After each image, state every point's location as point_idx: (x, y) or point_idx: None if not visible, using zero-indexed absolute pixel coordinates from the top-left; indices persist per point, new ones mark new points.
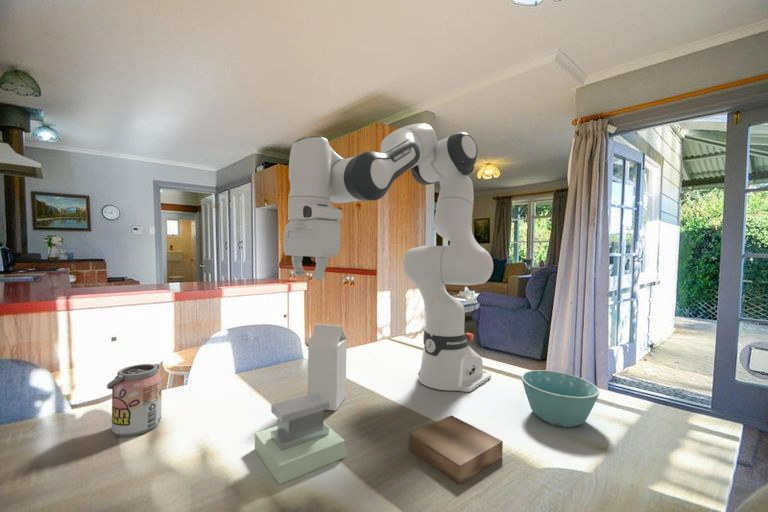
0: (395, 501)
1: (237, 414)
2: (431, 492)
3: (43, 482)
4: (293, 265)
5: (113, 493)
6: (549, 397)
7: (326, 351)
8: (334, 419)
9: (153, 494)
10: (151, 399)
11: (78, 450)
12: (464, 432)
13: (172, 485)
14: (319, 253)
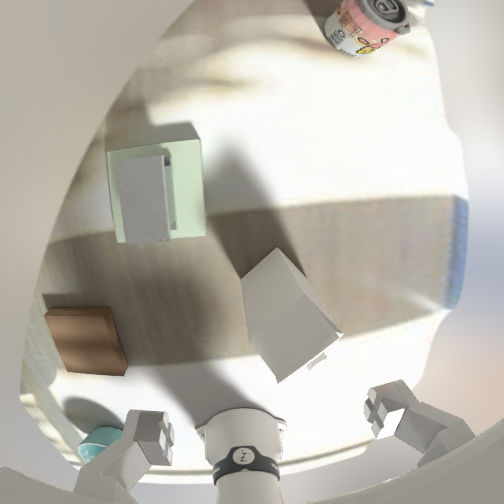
0: (50, 246)
1: (318, 145)
2: (50, 280)
3: None
4: (430, 410)
5: (204, 9)
6: (91, 440)
7: (266, 316)
8: (218, 267)
9: (177, 37)
10: (344, 27)
11: None
12: (88, 360)
13: (181, 51)
14: (9, 481)
